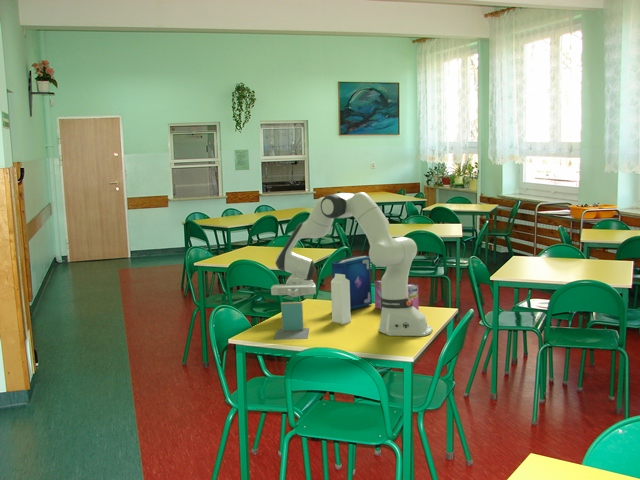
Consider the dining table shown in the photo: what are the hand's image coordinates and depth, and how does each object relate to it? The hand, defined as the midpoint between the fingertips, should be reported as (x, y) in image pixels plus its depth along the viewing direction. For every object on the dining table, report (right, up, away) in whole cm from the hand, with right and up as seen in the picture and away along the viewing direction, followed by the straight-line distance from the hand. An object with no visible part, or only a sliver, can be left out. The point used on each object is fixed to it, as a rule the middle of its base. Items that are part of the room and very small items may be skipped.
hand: (292, 293), depth 285 cm
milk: (+22, -14, +5) cm, 26 cm away
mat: (0, -16, -14) cm, 21 cm away
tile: (+1, -15, -8) cm, 17 cm away
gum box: (+49, -11, +26) cm, 56 cm away
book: (+28, -10, +34) cm, 45 cm away
